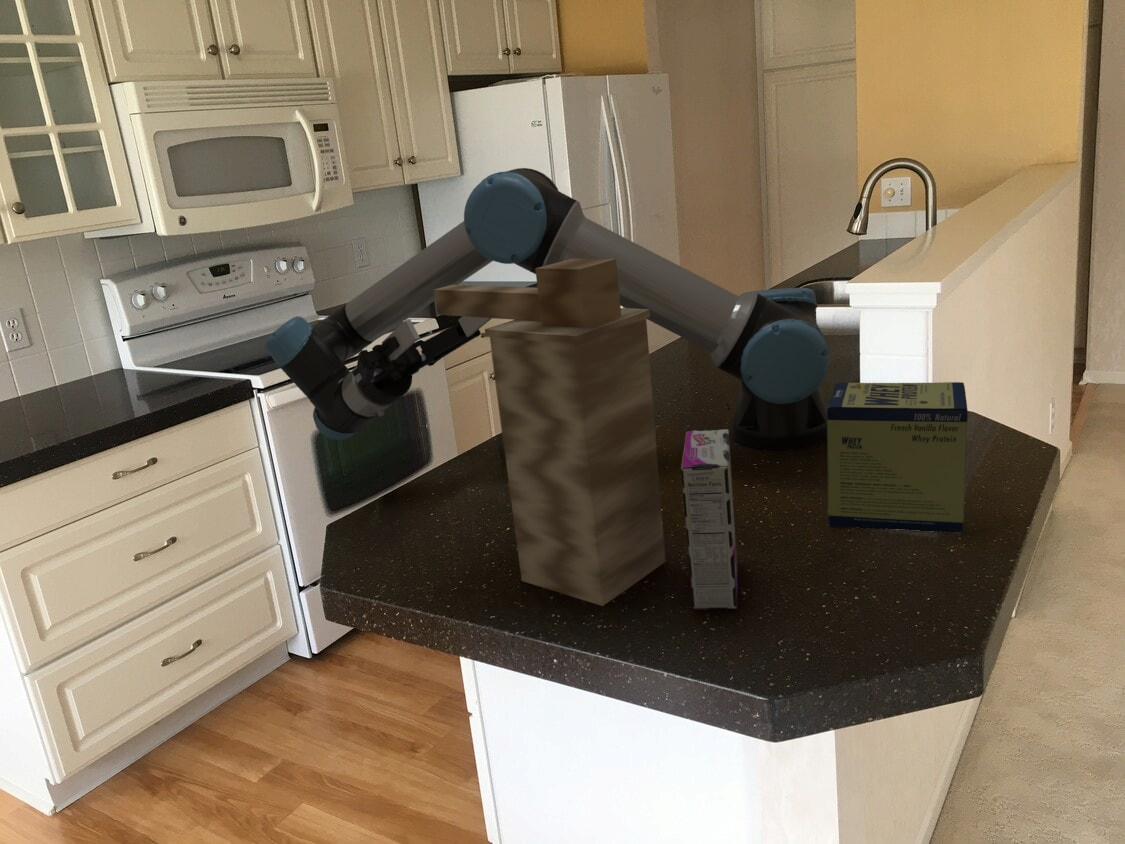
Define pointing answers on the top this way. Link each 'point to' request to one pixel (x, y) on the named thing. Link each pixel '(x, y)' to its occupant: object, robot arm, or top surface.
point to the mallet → (543, 296)
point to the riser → (580, 453)
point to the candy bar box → (710, 519)
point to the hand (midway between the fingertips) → (452, 317)
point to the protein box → (897, 455)
